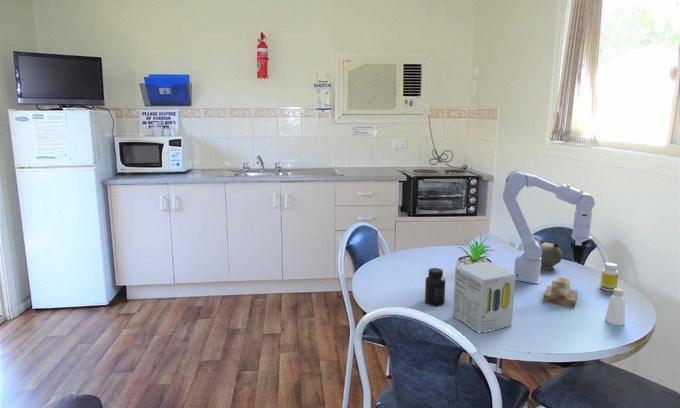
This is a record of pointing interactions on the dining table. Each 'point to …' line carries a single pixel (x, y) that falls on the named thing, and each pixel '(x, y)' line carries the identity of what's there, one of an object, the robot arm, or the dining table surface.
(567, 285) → the maple block
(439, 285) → the supplement bottle
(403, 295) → the dining table surface
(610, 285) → the supplement bottle
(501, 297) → the supplement box
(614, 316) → the salt shaker
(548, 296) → the walnut block
